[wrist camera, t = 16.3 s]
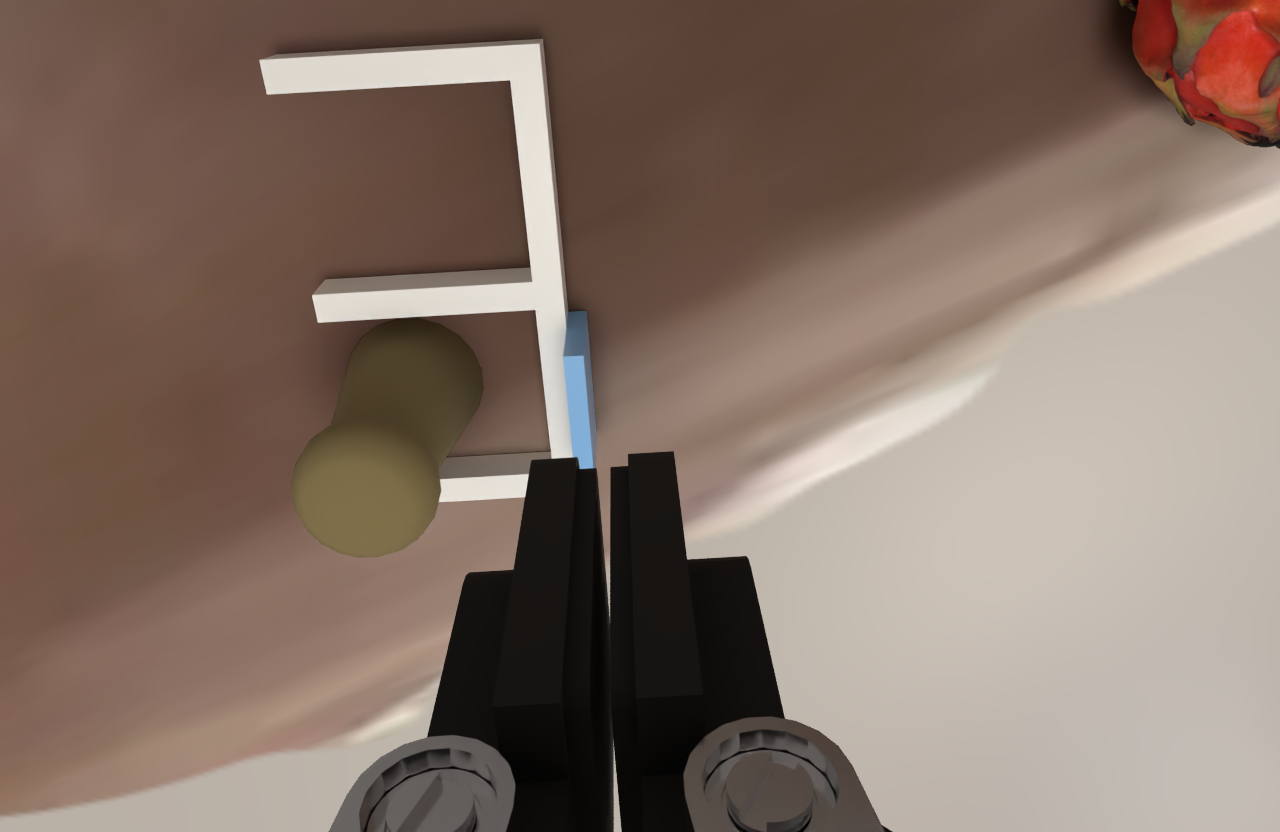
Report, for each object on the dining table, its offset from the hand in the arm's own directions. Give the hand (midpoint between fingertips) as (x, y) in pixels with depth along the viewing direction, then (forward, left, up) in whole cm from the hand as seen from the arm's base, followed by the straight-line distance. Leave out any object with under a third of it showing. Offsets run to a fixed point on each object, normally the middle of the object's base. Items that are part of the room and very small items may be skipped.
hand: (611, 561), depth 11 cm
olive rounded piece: (+10, -9, -29) cm, 33 cm away
